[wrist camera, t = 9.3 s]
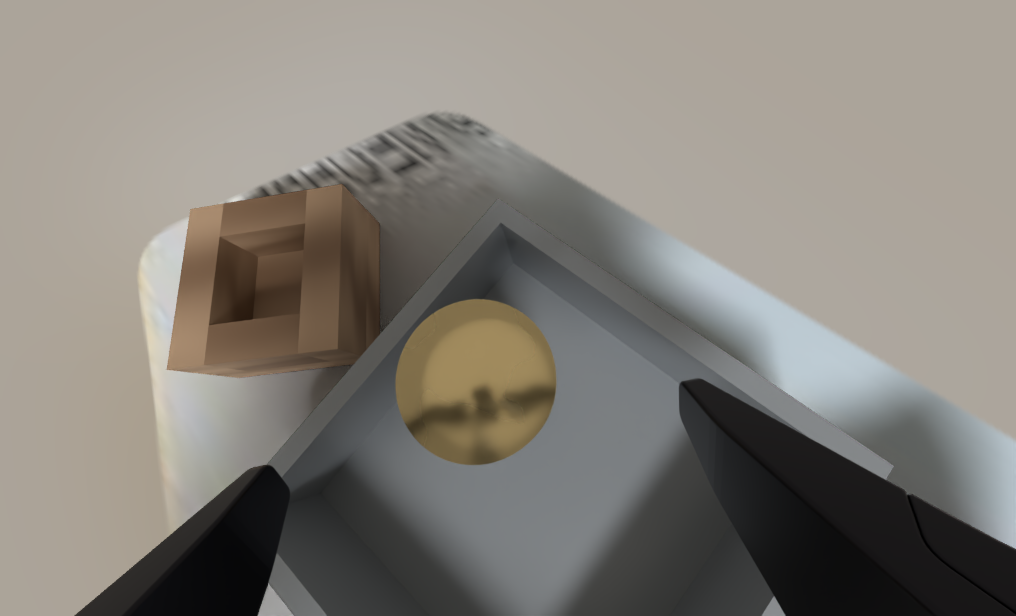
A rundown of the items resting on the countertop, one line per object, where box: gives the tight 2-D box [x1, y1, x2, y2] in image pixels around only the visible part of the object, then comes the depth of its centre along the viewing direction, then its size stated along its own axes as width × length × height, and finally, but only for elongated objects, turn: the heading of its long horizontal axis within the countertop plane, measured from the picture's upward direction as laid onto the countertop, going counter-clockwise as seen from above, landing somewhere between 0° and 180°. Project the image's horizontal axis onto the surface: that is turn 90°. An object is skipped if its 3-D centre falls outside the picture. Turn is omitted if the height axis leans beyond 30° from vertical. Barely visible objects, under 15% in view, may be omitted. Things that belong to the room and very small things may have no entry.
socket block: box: [167, 184, 380, 378], centre depth 20 cm, size 8×8×4 cm
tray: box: [267, 198, 894, 616], centre depth 15 cm, size 16×16×5 cm
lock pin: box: [395, 299, 557, 465], centre depth 14 cm, size 4×4×10 cm
